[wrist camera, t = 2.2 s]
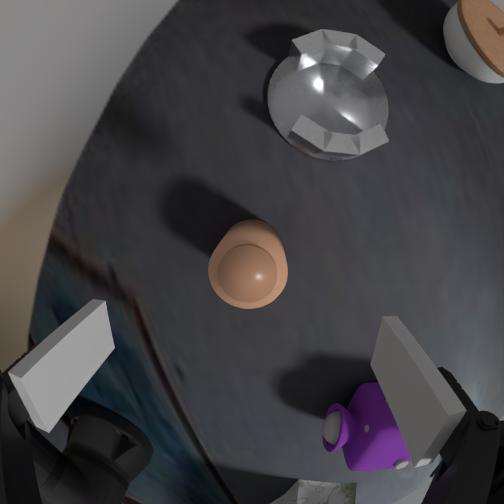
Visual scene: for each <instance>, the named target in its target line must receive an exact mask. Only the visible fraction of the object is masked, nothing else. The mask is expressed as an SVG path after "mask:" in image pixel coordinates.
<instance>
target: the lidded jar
mask: <svg viewBox="0 0 504 504" xmlns="http://www.w3.org/2000/svg"><path fill="white" fill-rule="evenodd" d="M443 35H444V40H445V45H446V49H447V51H448V53H449V55H450V57H451V58H452V60H453V61H454V62H455V63H456V64H457V65H458V66H459V67H460V68H461V69H462V70H464V71H465V72H467V73H468V74H470V75H471V76H473V77H475V78H476V79H479V80H481V81H484V82H488V83H504V12H503V11H502V10H501V9H500V8H499V7H498V6H497V5H495V4H494V3H493V2H492V1H490V0H459V1H458V2H457V3H456V4H455V5H453V6H452V7H451V9H450V10H449V11H448V13H447V15H446V17H445V20H444V24H443Z"/></svg>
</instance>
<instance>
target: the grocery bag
mask: <svg viewBox="0 0 504 504" xmlns="http://www.w3.org/2000/svg"><path fill="white" fill-rule="evenodd" d="M355 496H356V483H328V482H318V481H309V480H301V479H299V480H298V481H297V482H296V483H295V484H294V485H293V486H292V487H291V488H290V489H289V490H288V491H287V492H286V493H285V494H284V495H283V496H281V497H280V498H278V499H276V500H275V501H273V502H271V503H270V504H355Z"/></svg>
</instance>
